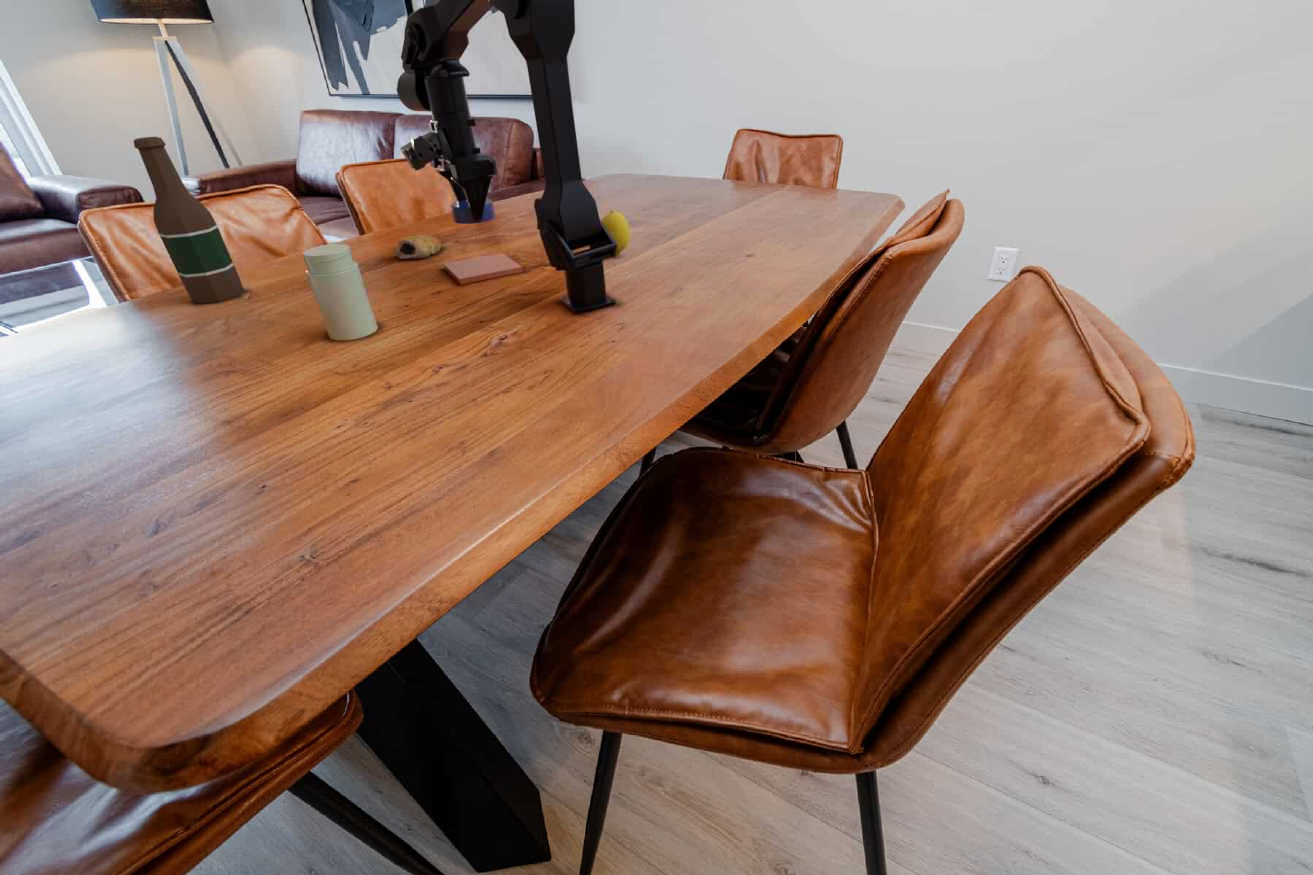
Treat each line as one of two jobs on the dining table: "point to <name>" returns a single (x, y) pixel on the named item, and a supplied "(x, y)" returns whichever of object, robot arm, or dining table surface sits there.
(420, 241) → the pastry
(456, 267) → the coaster
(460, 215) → the jar lid
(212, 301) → the beer bottle
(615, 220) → the lemon
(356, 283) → the jar
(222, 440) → the dining table surface
